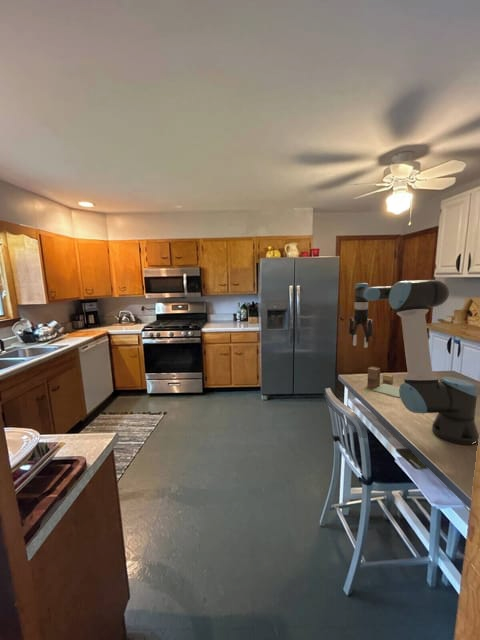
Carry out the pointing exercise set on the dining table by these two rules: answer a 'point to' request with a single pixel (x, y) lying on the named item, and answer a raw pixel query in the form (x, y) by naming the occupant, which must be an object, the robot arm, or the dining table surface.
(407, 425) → the dining table surface
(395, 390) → the mat
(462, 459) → the dining table surface
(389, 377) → the oak cube
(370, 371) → the wooden block
